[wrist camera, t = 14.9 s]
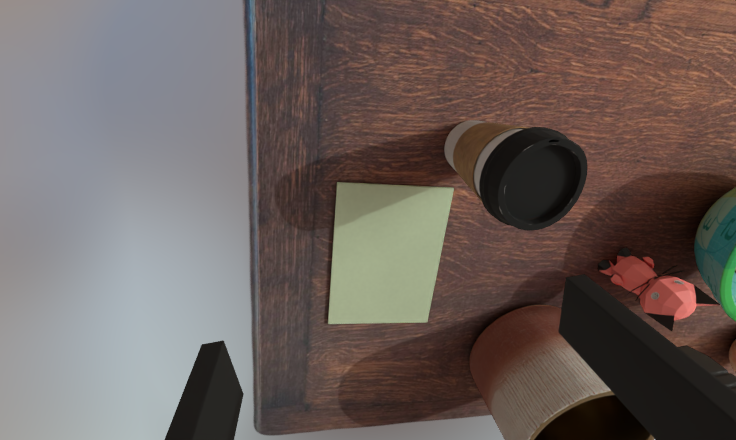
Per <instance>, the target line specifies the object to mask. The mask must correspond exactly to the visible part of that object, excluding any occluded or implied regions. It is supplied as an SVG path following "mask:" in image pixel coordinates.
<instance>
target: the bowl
mask: <svg viewBox="0 0 736 440" xmlns="http://www.w3.org/2000/svg"><path fill="white" fill-rule="evenodd" d="M694 252H695V258H696V264H697V267H698V269H699V272H700V274H701V276H702V278H703V280H704V281H705V283H706V284H707V285H708V287H709V288H710V289H711V291H712V293H713V295H714V297H715V298H716V300H717V301H718V302H719V303H720V304H721V306H722V308H723V310H724V311H725V312H726V314H727V315H728V316H729V317H730V318H732V319H733V320H734V321H736V187H735V188H734V189H732V190H730V191H729V192H727V193H726V194H724V195H723V196H722V197H721V198H719V199H718V200H717V201H716V202H715V203H714V204H713V205H712V206H711V207H710V209H709V210H708V211H707V212H706V214H705V215H704V217H703V218H702V220H701V222H700V224H699V227H698V229H697V233H696V237H695V243H694Z"/></svg>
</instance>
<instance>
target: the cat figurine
mask: <svg viewBox="0 0 736 440" xmlns="http://www.w3.org/2000/svg"><path fill="white" fill-rule="evenodd" d="M642 259H643V261H641V260H640V259H638V258H637V257H635V256H632V255H631V251H630V250H629V249H628V248H624V249H621V250H620V252H619V253H618V255H617V264H616V265H615V266H614V265H613V264H612V263H611V261H610V260H602V261H601V262H600V263H599V264H598V271H600V272H602V273H604V274H607V275H610V276H611V281H612V283H614V284H616V285H621V286H622V287H623V288H625V289H626V290H628V291H630V292H633V293H636V294H637V295H638V297H639V298H640V304H641V306H642V308H643V310H644V312H645V313H646V314H647V315H649V316H650V317H652V318H653V319H654V320H656V321H658V322H659V323H660V324H662V325H663V326H665V327H666V328H668V329H669V330H671V331H672V330H673V323H674V321H675V320H679V319H682V318H686V317H688V316H689V315H690V314H692V313H693V312H694V311H695V308H696V306H709V305H720V304H719V303H717V302H716V301H715V300H713V299H712V298H711V297H709V296H708V295H707V294H705V293H704V292H703V291H701V290H700V289H699V288H697V287H696V286H695V285H693V284H691V283H688V282H686V281H684V280H682V279H679V278H677V277H673V276H666V275H670V274H674V273H678V272H682V271H678V272H674V273H670V274H666V275H665V276H662V275H660V276H662V277H660V276H659V277H658V276H657V274H656V273H655V272H654V270H653V269H652V268H654V263H653V260H652V259H651V258H650V257H642ZM677 266H678V265H677ZM674 267H676V266H673V267H672V268H674ZM672 268H670V269H672ZM670 269H668V270H667V271H669V270H670ZM667 271H665V272H664V273H666V272H667ZM664 273H662V274H664ZM628 294H629V293H628ZM628 294H627V295H628ZM638 297H637V299H638ZM637 299H636V300H637Z"/></svg>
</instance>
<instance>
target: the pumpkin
mask: <svg viewBox="0 0 736 440" xmlns="http://www.w3.org/2000/svg"><path fill="white" fill-rule="evenodd" d="M729 361H730V364H731V366H732V368H733V369H734V371H735V372H736V339H735V341H734V342H733V343H732V345H731V347H730V351H729Z"/></svg>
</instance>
